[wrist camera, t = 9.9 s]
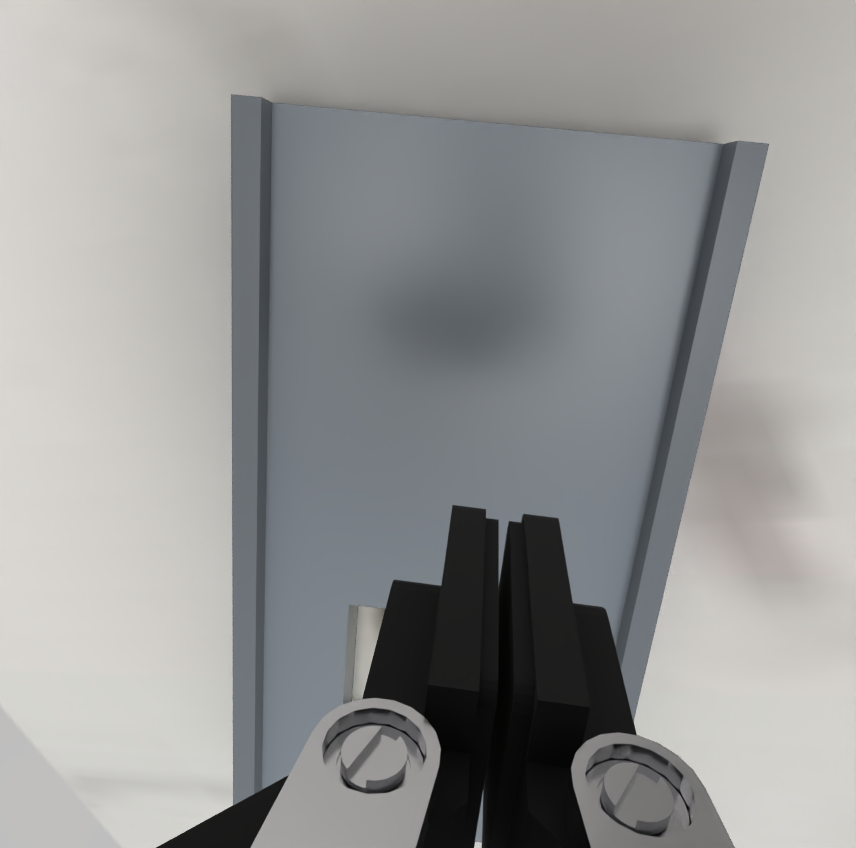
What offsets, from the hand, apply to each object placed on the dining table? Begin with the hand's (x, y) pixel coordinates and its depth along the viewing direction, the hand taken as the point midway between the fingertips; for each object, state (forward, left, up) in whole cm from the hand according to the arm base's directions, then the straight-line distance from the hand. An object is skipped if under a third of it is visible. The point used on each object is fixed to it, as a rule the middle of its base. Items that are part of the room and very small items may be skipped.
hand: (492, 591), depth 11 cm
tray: (+5, -1, -13) cm, 14 cm away
